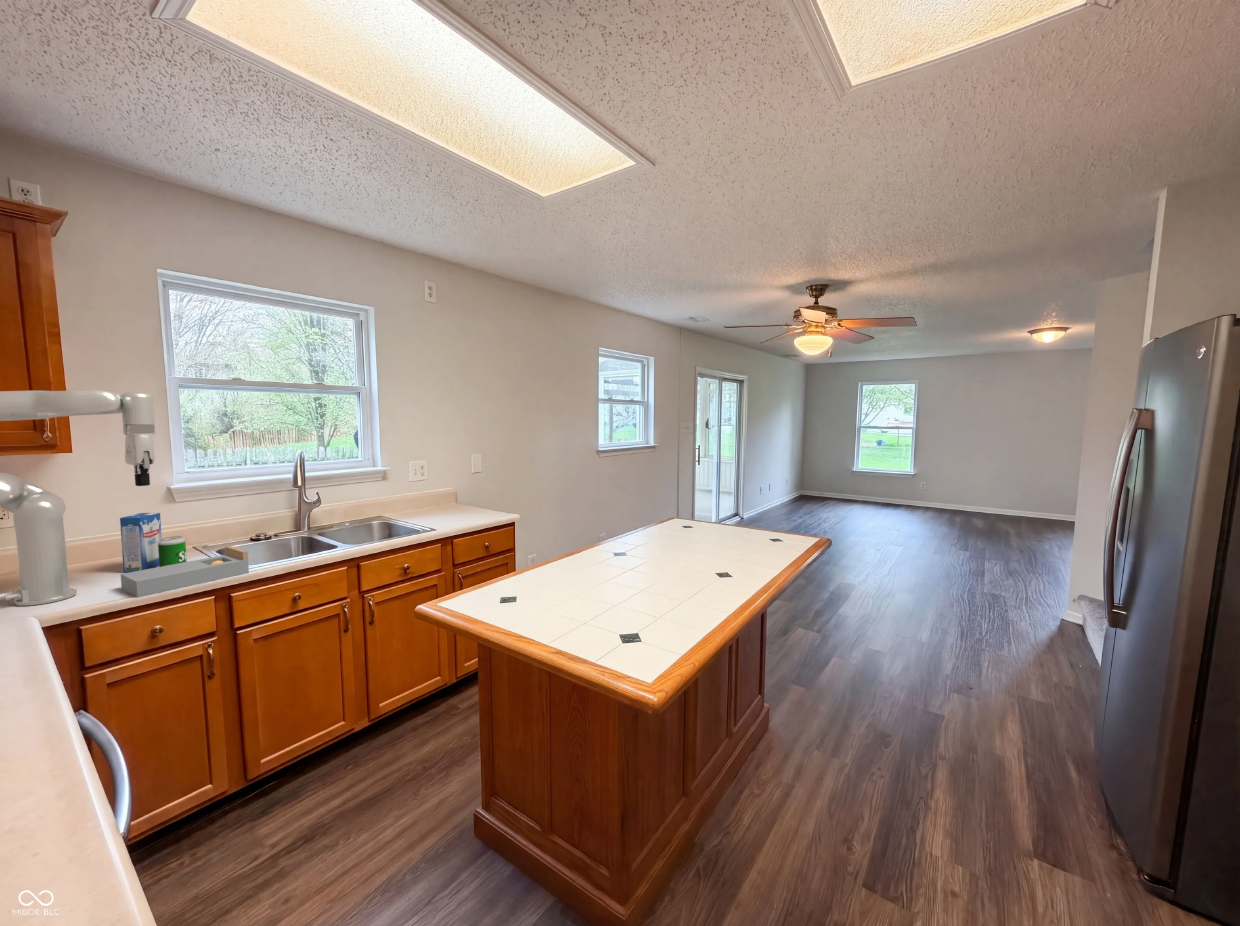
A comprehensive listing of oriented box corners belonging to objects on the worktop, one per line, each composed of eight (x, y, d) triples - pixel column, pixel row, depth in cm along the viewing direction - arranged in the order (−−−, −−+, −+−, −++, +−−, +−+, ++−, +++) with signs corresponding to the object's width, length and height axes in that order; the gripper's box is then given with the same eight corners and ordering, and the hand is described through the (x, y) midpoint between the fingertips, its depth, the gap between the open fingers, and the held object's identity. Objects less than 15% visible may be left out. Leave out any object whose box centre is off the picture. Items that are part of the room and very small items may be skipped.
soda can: (174, 573, 178) (172, 540, 177) (153, 573, 178) (151, 540, 177) (192, 567, 186) (190, 535, 185) (172, 567, 186) (171, 535, 185)
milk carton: (144, 565, 188) (141, 512, 186) (163, 564, 189) (160, 512, 187) (123, 573, 178) (119, 517, 176) (143, 572, 179) (140, 517, 177)
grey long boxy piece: (137, 597, 154) (136, 572, 154) (121, 589, 161) (120, 565, 161) (248, 572, 180) (247, 551, 179) (230, 566, 187) (229, 545, 186)
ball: (218, 578, 176) (209, 568, 173) (212, 576, 178) (202, 566, 176) (232, 568, 179) (223, 558, 177) (225, 566, 182) (216, 556, 179)
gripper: (115, 429, 164) (119, 485, 166) (132, 430, 157) (135, 488, 158) (145, 429, 171) (149, 482, 172) (163, 430, 163) (166, 486, 165)
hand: (142, 485), depth 165 cm, fingers closed
